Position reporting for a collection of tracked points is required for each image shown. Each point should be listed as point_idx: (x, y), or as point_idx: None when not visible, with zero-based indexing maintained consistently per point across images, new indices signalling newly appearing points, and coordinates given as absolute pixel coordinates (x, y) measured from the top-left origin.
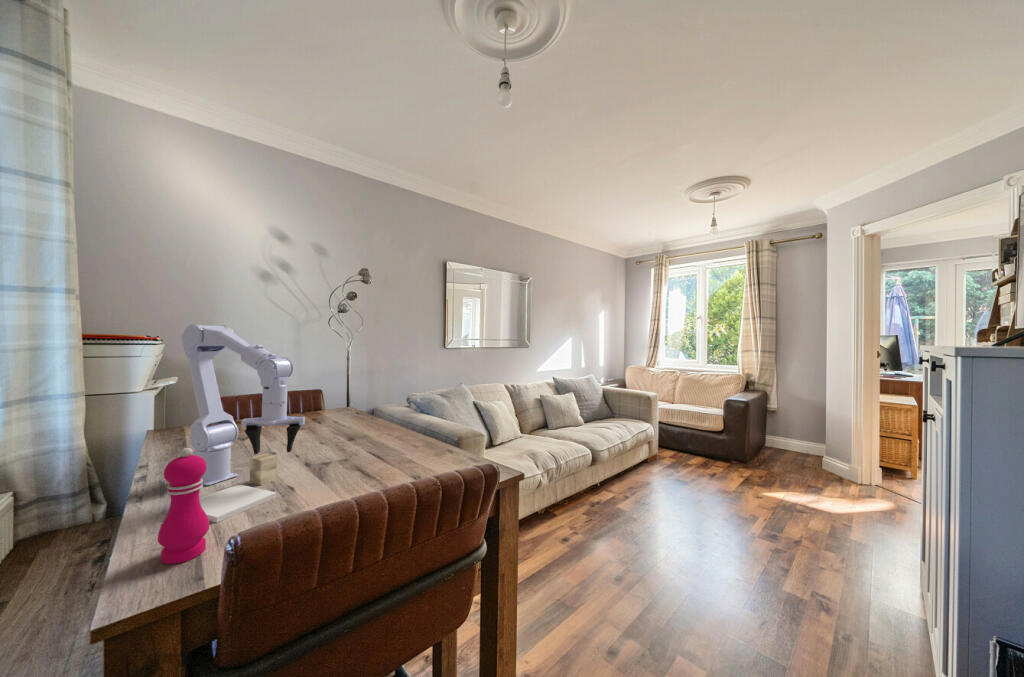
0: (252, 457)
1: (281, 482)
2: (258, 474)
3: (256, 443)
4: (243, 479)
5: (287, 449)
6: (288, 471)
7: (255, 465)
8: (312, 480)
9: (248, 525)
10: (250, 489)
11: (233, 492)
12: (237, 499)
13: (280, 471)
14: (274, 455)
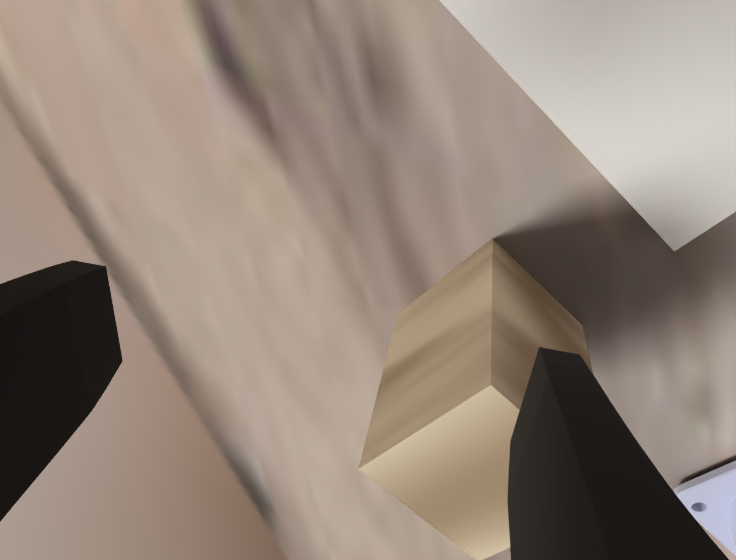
0: None
1: (346, 242)
2: (517, 311)
3: (572, 505)
4: (630, 416)
5: (61, 279)
6: (343, 434)
7: None
8: (123, 191)
9: None
10: (564, 61)
11: (726, 33)
12: None
13: None
14: (378, 475)
